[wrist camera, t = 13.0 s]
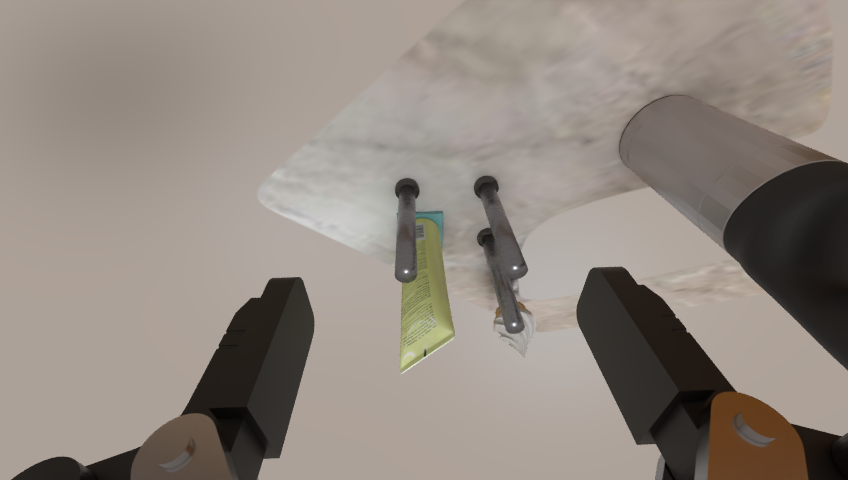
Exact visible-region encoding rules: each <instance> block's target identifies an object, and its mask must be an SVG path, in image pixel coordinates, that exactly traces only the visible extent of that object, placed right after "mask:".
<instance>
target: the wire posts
mask: <svg viewBox="0 0 848 480" xmlns="http://www.w3.org/2000/svg"><path fill="white" fill-rule="evenodd" d="M498 188H499V187H498V183H497V181H496V180H495V178H493V177H491V176H483V177H481V178H479V179H478V180H477V181H476V183H475V185H474V191H475V194H476V195H477V196H478V197H479V198H481V199H482V202H483V205H484V209H485V212H486V215H487V218H488V221H489V224H490V227H491V228H487V229H484V230H482V231H480V232H479V234H478V236H477V240H478V243H479V245H480V246H482V247H483V248H484V252H485V256H486V259H487V263H488V266H489V270H490V274H491V277H492V281H493V285H494V288H495V292H496V296H497V299H498V303H499V307H500V310H501V314H502V318H503V321H504V325H505V329H506V331H507V332H508V333H510V334H517V333H520V332H522V331H523V330H524V328H525V325H524V322H523V319H522V316H521V313H520V309H519V306H518V303H517V300H516V297H515V294H514V291H513V288H512V285H511V282H510V279H509V278H511V279H519V278H521V277H523V276H524V275H525V274H526V273H527V271H528V268H527V265H526V263H525V260H524V258H523V256H522V253H521V250H520V248H519V246H518V243H517V241H516V238H515V236H514V233H513V231H512V228H511V226H510V223H509V221H508V219H507V216H506V214H505V211H504V209H503V206H502V204H501V201H500V199H499V196H498V194H497V192H498ZM395 193H396V196H397V197H398V198H399V206H398V225H397V244H396V263H395V277H396V279H397V280H398V281H400V282H402V283H410V282H412V281H414V280H415V279H416V277H417V248H416V203H415V199H416V198H417V197H418V195H419V186H418V184H417V183H416V182H415V181H414V180H412V179H402V180H400V181H399V182H398V183H397V185H396V188H395Z"/></svg>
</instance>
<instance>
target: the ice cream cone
mask: <svg viewBox="0 0 848 480" xmlns="http://www.w3.org/2000/svg"><path fill="white" fill-rule="evenodd" d="M517 303H518V306H519V309H520V313H521V316H522V319H523V322H524V325H525V328H524V330H523V331H522V332H520V333H517V334H510V333H508V332H507V331H506V329H505V325H504V321H503V318H502V314H501V310H500V307H498V308H497V309H496V318H495V320H494V331H497V332H498V333H500V334H501V335H502V336H500V337H499V338H500V339H502V340H503V341H508V342H509V343H510V344H509V345H510V346H511V347H513V348H514V349H516V350H517V351H518V352H519V353H520V354H521V355H522V356H523V357H525V354H526V349H527V346H528V345H529V342H530V340H531V338H532V336H533V334H534V332H535V329H536V326H537V322H536V320H535V318H534V317H533V315H532V313H531V312H530V311H528V310H527V309H526V308H525V306H524V305H523V304H522V303H520V302H517Z"/></svg>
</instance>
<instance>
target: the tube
mask: <svg viewBox="0 0 848 480" xmlns="http://www.w3.org/2000/svg"><path fill="white" fill-rule="evenodd" d="M416 248H417V277H416V279H415V280H414V281H412V282H410V283H402V309H401V312H402V313H401V346H400V347H401V349H400V370H401V374H403V373H404V372H405V371H407V370H408V369H410V368H411V367H412V366H414V365H415V364H417V363H418V362H420V361H421V360H423V359H424V358H426V357H427V356H428V355H430V354H432V353H433V352H435V351H436V350H438V349H439V348H441V347H442V346H444V345H445V344H447V343H448V342H450V341H451V340H453V339H454V338H455V331H454V327H453V322H452V316H451V311H450V305H449V299H448V292H447V285H446V278H445V271H444V264H443V257H442V249H441V241H440V233H439V228H438V226H437V225H436V224H435V223H434V222H433V221H431V220H429V219H425V218H418V219H416Z"/></svg>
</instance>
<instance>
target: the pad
mask: <svg viewBox="0 0 848 480" xmlns="http://www.w3.org/2000/svg"><path fill="white" fill-rule="evenodd" d="M418 218H425V219H429V220H431V221H433V222H434V223H435V224H436V225H437V226H438V228H439V233H440V241H441V249H442V225H443V213H442V211H440V212H416V219H418ZM397 220H398V213H397Z"/></svg>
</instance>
